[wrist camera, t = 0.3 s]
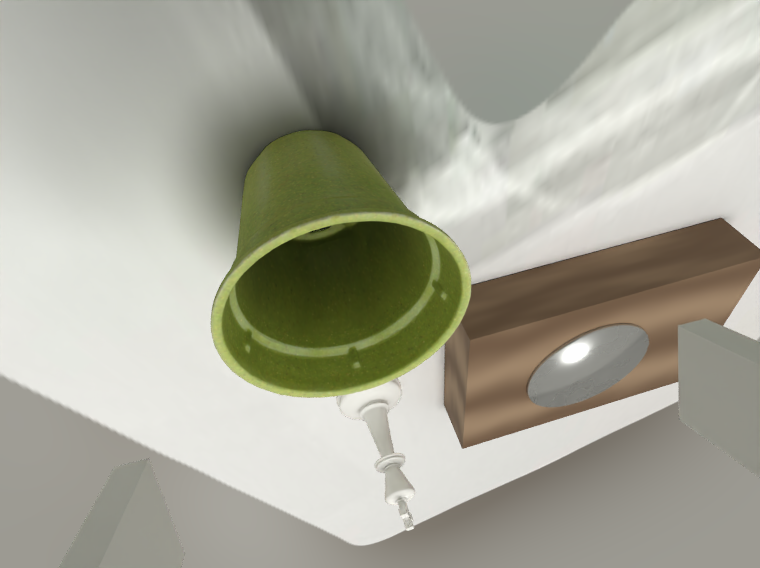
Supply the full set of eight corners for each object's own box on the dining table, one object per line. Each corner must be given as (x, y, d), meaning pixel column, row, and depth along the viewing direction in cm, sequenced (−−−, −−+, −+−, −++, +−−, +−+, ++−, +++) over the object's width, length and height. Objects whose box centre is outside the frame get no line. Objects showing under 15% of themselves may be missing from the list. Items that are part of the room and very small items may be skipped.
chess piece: (390, 364, 36) (439, 501, 29) (407, 395, 40) (454, 524, 33) (326, 390, 36) (360, 533, 29) (349, 419, 40) (384, 552, 33)
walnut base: (445, 292, 32) (472, 344, 29) (721, 218, 35) (771, 258, 32) (444, 405, 42) (463, 452, 39) (658, 341, 45) (691, 381, 42)
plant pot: (238, 280, 27) (254, 423, 21) (170, 116, 20) (166, 258, 14) (406, 238, 28) (466, 361, 22) (396, 69, 21) (478, 183, 15)
